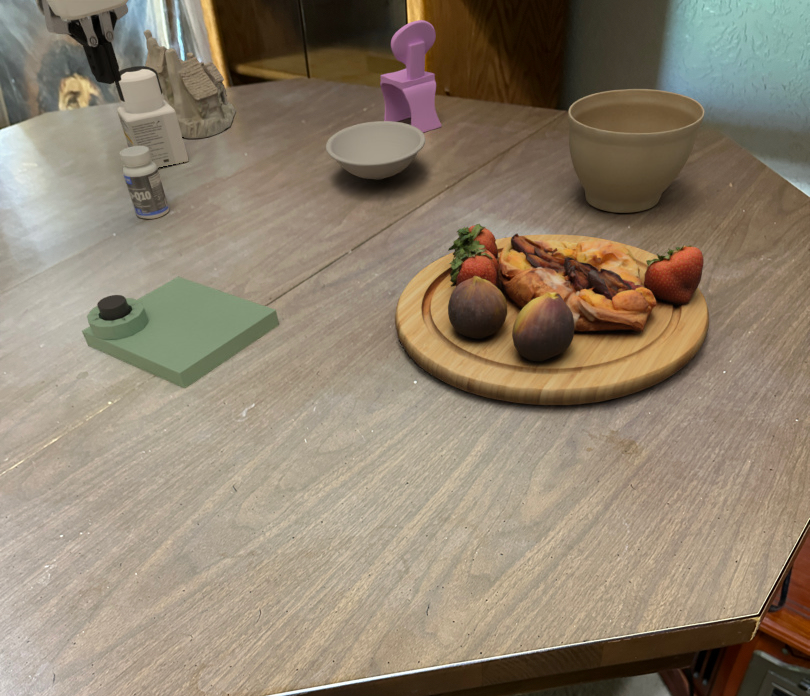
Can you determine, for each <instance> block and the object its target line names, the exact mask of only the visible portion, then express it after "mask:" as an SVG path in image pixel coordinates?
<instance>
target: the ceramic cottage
mask: <svg viewBox="0 0 810 696" xmlns="http://www.w3.org/2000/svg"><path fill="white" fill-rule="evenodd" d="M143 35H144V37H145V42H146V43H145V44H146V48H147V55H146V61H145V63H144V66H147V67H150V68H153V69H154V70H155V71H156V72H157V74H158V78H159V82H160V85H161V89H162V93H163V96H164V100H165V101H166V102H167V103H168V104H169V105H170V106H171V107H172V108H173V109H174V110H175V112H176V116H177V119H178V123H179V127H180V131H181V134H182V137H184V138H183V139H189V140H191V139H203V138H204V139H205V138H209V137H213V136H216V135H218V134H220V133H222V132H224V131H225V130H226V129H228V128H230V127H231V125H232V123H233V121H234V117H235V115H236V113H237V110H236V108H235V105H233V104H232V103H230V101H229V100H228V98H227V97H228V94H227V89H226V87H225V86H226V85H225V84H224V83H223V82H224V81H225V78H224V77H223V74H222V73H221V72H220V70H219V69H218V68H217V66H216V64H214V62H212V61H209V62H206V63H204V62H203V61H199V59H198V57H196V56H195V54H194V52H187V53H186V60H183V59H182V58H181V59H180V57H179V56H178V52H177V50H175V48H173V47H169V48H167V47H166V46H164V45H163V46H162V45H161V46H160V44H159V43H158V41H157V38H156V37H153V34H152V31H151V30H150V29H146V30H144V31H143Z"/></svg>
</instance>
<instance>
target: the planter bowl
mask: <svg viewBox="0 0 810 696" xmlns="http://www.w3.org/2000/svg"><path fill="white" fill-rule="evenodd" d="M704 108H705V107H704V106H703V105H702V104H701V103H700V102H699V101H697V100H696V99H694V98H692V97H689V96H687V95H685V94H680V93H676V92H673V91H667V90H660V89H650V88H649V89H648V88H629V89H613V90H607V91H606V90H605V91H601V92H597V93H591V94H589V95H586V96H583V97H581V98H579V99H577V100H576V101H574V102H573V103H572V104H571V105H570V106H569V108H568V113H567V117H568V118H567V119H568V120H567V121H568V125H569V126H568V147H569V154H570V159H571V163H572V166H573V170H574V172H575V174H576V177H577V179H578V181H579V183H580V184H581V186H582V188H583V190H584V194H585V195H584V196H585V200H586V202H587V203H588V204H589V205H590V206H592V207H593V208H596V209H598V210H601V211H605V212H609V213H618V214H631V213H639V212H642V211H646V210H649V209H652V208H654V207H655V206H656V205H657V204H658V203H659V201H660V198H661V196H662V193H663V192H665V191H666V190H667V189H668V188H669V186H671V184H672V183H673V182H674V181H675V180H676V179H677V177H678V176H679V174H680V173H681V171H682V170H683V169H684V167H685V165H686V163H687V161H688V159H689V158H690V156H691V154H692V152H693V149H694V147H695V144H696V141H697V138H698V134H699V130H700V127H701V126H702V123H703V121H704V117H705V111H706V110H705V109H704Z"/></svg>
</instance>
